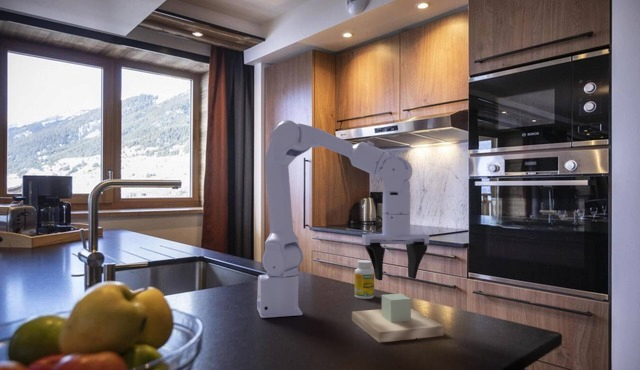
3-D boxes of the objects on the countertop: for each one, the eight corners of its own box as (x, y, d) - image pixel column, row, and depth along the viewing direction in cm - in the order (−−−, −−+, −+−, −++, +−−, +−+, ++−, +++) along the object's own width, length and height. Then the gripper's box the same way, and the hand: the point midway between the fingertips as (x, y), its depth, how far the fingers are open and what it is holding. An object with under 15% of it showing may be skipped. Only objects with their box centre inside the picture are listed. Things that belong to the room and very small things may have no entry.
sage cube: (390, 322, 84) (390, 300, 84) (381, 316, 88) (381, 294, 88) (410, 320, 85) (410, 298, 85) (400, 314, 89) (400, 293, 89)
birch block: (379, 345, 78) (379, 332, 78) (351, 322, 91) (351, 311, 91) (443, 338, 82) (443, 325, 82) (408, 317, 95) (408, 306, 95)
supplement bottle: (365, 293, 115) (366, 258, 115) (378, 297, 111) (378, 261, 111) (350, 295, 112) (350, 260, 112) (362, 300, 108) (363, 263, 108)
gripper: (371, 214, 81) (370, 284, 81) (437, 214, 85) (436, 281, 85) (358, 213, 88) (358, 277, 88) (419, 212, 92) (419, 274, 92)
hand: (395, 278), depth 87 cm, fingers open, 7 cm apart
